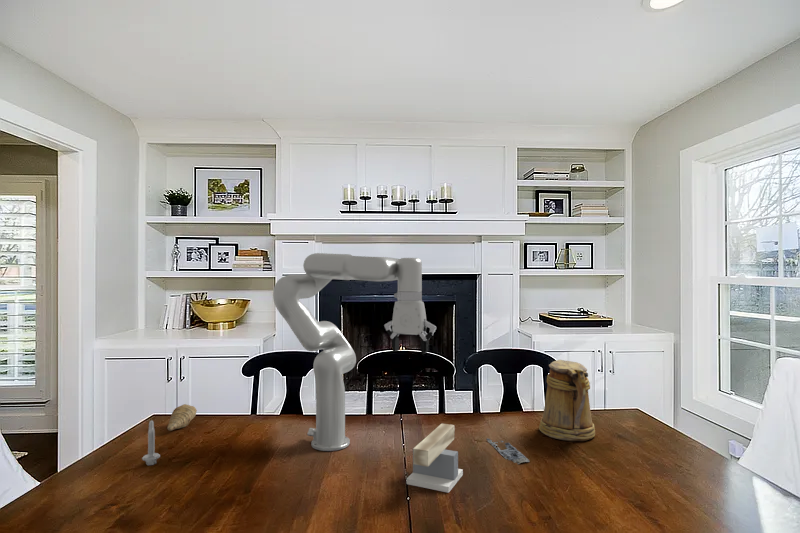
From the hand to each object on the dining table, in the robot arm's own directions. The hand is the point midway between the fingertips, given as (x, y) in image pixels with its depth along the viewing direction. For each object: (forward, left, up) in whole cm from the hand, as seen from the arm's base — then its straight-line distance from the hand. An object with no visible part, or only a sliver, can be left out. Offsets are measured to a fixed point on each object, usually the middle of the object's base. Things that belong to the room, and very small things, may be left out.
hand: (409, 352), depth 148 cm
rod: (+13, -12, -24) cm, 30 cm away
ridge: (+13, -12, -32) cm, 37 cm away
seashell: (-87, -12, -33) cm, 94 cm away
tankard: (+43, +41, -33) cm, 68 cm away
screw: (-68, -38, -32) cm, 84 cm away
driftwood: (+27, +17, -33) cm, 46 cm away
